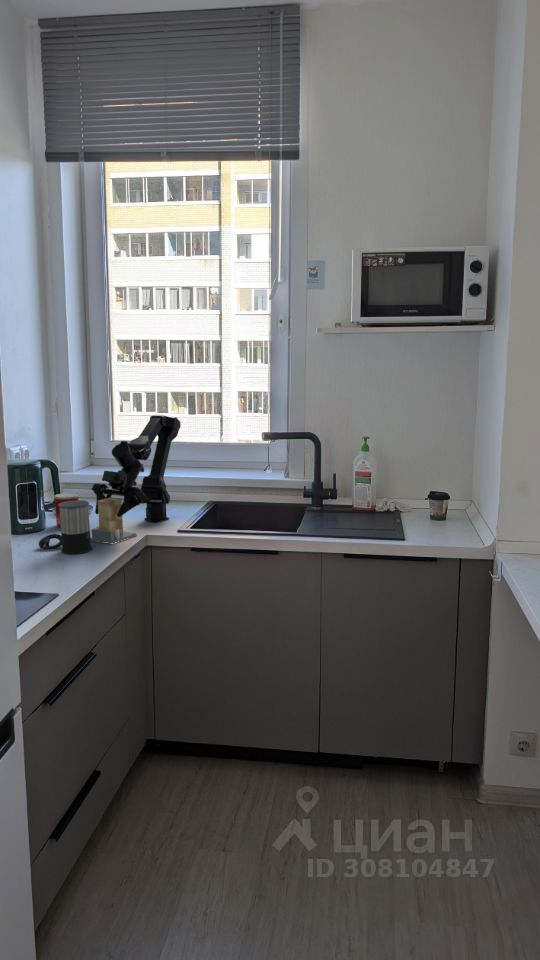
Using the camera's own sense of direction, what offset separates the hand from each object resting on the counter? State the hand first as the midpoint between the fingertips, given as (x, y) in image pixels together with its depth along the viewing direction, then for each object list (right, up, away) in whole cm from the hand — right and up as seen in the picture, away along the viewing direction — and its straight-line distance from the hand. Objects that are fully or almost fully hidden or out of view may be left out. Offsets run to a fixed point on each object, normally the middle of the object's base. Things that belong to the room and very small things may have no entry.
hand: (107, 515), depth 238 cm
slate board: (+1, -8, +4) cm, 9 cm away
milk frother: (-11, -10, -8) cm, 17 cm away
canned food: (-18, -5, +21) cm, 28 cm away
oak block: (+1, -7, +3) cm, 8 cm away
